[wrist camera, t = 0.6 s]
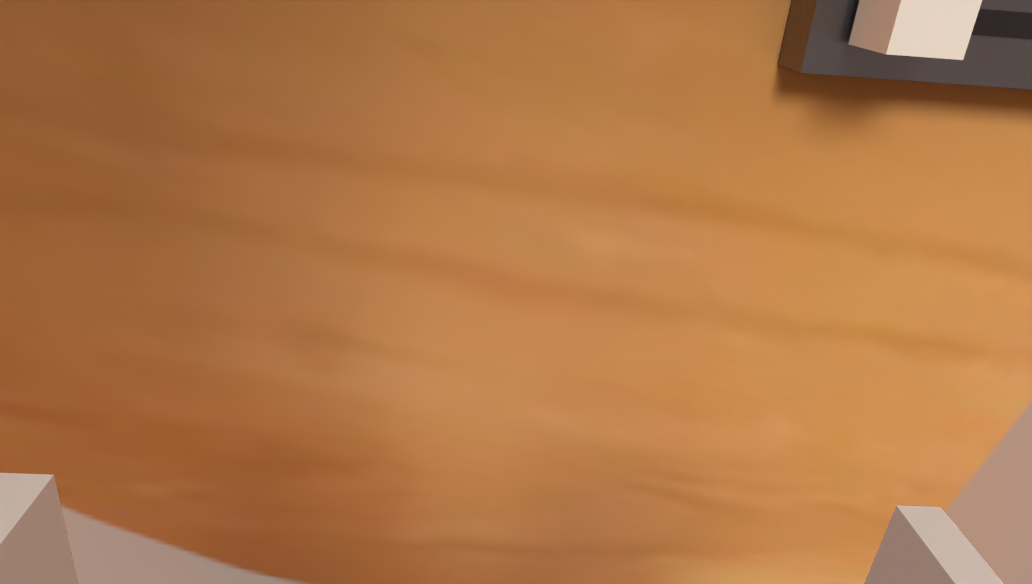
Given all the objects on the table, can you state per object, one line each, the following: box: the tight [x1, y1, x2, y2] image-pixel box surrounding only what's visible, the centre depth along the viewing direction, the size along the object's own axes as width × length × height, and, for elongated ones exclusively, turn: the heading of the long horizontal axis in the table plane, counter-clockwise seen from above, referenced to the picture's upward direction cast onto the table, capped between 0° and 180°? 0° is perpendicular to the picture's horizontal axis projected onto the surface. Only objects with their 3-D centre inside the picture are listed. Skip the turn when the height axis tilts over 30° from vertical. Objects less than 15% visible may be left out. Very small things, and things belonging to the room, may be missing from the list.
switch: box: [848, 0, 982, 60], centre depth 28 cm, size 2×3×3 cm
